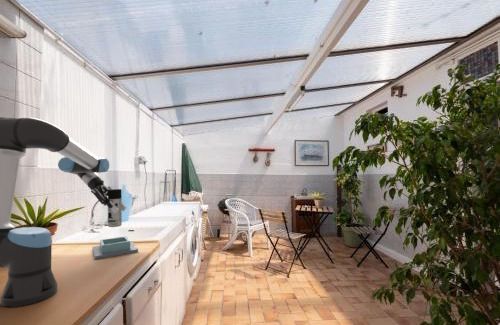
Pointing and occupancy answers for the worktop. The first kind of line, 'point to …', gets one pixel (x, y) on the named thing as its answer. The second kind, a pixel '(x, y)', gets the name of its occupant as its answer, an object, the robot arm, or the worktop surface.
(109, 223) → the spray can
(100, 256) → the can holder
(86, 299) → the worktop surface
